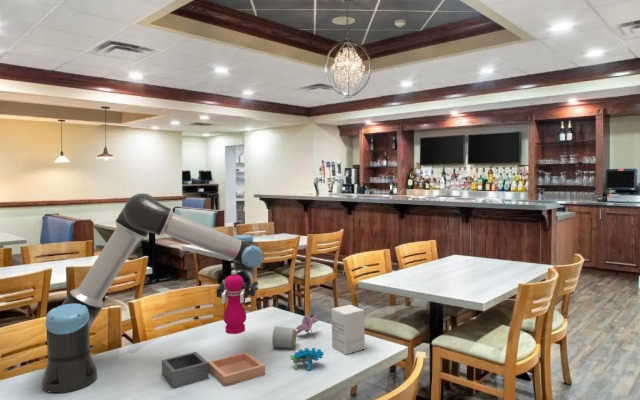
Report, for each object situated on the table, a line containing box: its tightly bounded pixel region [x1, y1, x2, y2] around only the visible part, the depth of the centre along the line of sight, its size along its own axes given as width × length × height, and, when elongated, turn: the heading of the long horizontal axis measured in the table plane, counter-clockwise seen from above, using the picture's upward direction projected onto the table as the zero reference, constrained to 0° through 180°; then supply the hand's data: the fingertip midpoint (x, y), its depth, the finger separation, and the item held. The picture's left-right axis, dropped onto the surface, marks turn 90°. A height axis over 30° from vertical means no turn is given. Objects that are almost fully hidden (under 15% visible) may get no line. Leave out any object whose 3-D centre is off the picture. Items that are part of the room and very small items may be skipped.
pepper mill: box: [223, 269, 247, 335], centre depth 146 cm, size 7×7×20 cm
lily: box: [294, 313, 320, 339], centre depth 180 cm, size 12×12×10 cm
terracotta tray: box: [207, 351, 266, 387], centre depth 148 cm, size 14×14×3 cm
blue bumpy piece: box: [290, 347, 324, 371], centre depth 150 cm, size 11×6×10 cm
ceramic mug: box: [271, 325, 297, 349], centre depth 171 cm, size 11×8×8 cm
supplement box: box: [330, 304, 366, 355], centre depth 166 cm, size 9×9×15 cm
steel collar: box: [161, 351, 210, 389], centre depth 145 cm, size 11×11×5 cm
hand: (232, 299), depth 141 cm, fingers closed on pepper mill, 5 cm apart
